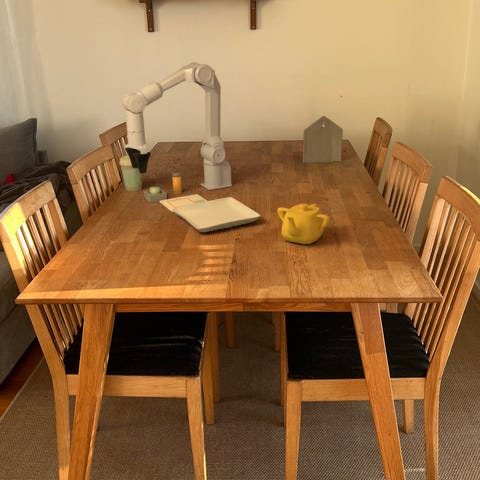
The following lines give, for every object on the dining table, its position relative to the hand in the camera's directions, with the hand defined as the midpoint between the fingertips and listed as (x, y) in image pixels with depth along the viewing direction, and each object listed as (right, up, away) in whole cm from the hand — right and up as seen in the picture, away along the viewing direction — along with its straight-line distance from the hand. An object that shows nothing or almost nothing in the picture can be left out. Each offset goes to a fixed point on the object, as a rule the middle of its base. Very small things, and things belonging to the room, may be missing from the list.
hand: (139, 170), depth 197 cm
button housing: (+5, -10, +3) cm, 11 cm away
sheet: (+16, -12, -2) cm, 20 cm away
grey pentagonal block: (+69, +10, +48) cm, 84 cm away
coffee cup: (-4, -5, +14) cm, 16 cm away
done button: (+5, -10, +3) cm, 11 cm away
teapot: (+52, -24, -34) cm, 67 cm away
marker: (+12, -7, +8) cm, 16 cm away
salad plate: (+27, -18, -18) cm, 37 cm away
